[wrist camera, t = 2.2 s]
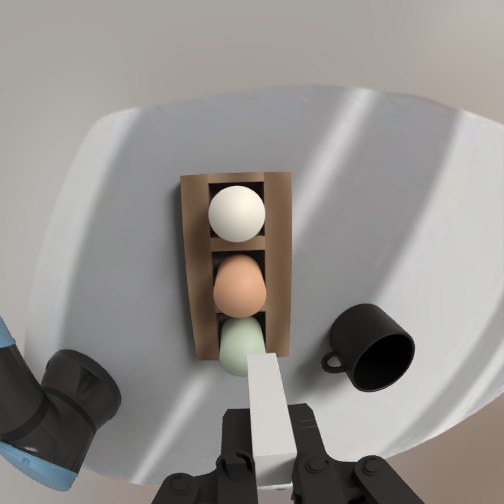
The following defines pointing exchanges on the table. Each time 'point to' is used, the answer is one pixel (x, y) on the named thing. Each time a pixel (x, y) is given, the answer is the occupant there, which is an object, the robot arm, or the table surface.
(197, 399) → the table surface
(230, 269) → the peach egg
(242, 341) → the pale green egg
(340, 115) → the table surface
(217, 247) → the wooden tray
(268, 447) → the robot arm
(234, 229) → the white egg
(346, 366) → the mug
